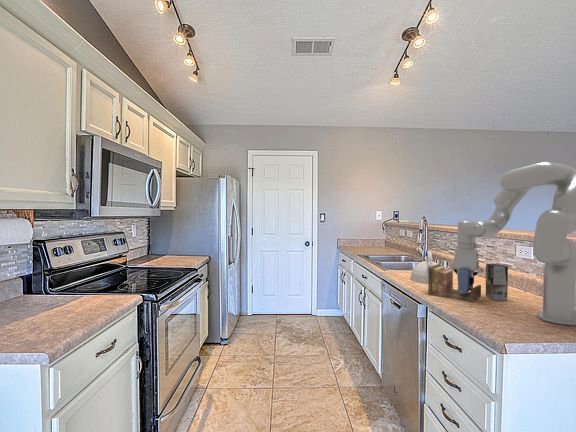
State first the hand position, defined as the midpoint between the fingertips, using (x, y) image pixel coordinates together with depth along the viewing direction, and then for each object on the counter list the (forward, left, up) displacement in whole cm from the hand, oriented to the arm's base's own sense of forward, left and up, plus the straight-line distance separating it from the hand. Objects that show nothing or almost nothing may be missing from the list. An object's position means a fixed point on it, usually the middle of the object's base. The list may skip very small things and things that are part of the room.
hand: (465, 283), depth 155 cm
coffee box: (-11, -9, -7) cm, 16 cm away
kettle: (+27, -27, -7) cm, 39 cm away
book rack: (+5, 0, -7) cm, 8 cm away
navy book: (0, 0, -3) cm, 3 cm away
